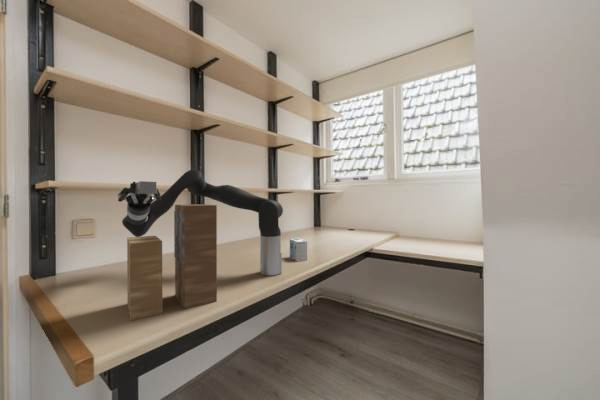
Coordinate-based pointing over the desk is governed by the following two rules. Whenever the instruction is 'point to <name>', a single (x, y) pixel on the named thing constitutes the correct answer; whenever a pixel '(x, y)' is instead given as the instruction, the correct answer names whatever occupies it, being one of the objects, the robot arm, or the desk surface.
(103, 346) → the desk surface
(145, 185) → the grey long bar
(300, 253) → the light bulb box
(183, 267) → the tall brown wooden block
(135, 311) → the oak step
